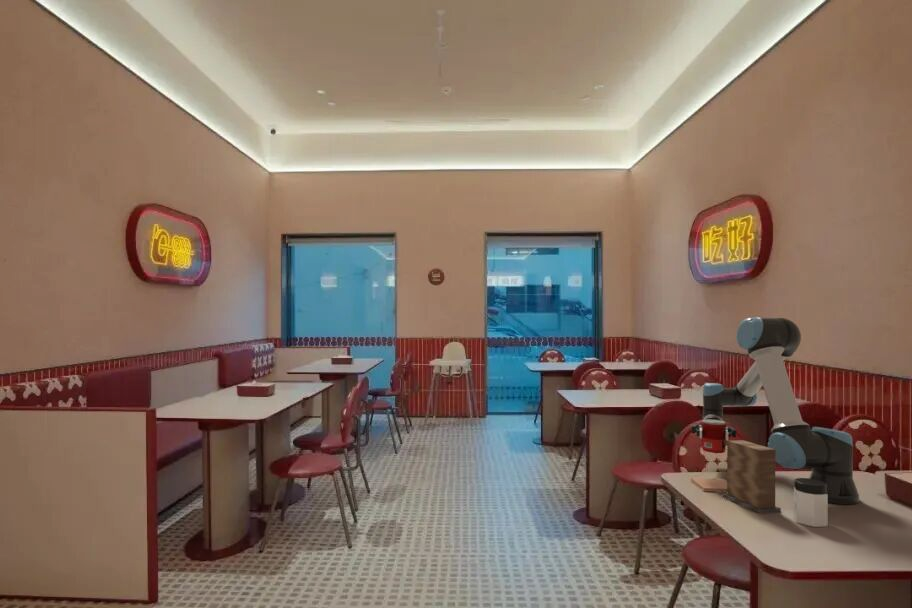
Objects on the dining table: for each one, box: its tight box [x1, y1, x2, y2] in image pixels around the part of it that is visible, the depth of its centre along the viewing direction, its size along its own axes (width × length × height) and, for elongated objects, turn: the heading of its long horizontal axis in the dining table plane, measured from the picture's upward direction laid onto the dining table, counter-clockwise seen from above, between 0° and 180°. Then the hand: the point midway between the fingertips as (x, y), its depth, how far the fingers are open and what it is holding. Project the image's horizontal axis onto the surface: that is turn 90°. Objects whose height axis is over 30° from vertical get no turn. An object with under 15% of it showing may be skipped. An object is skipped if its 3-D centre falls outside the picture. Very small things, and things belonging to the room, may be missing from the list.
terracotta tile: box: [690, 477, 727, 493], centre depth 200 cm, size 12×12×1 cm
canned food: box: [701, 419, 727, 454], centre depth 207 cm, size 8×8×11 cm
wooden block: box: [722, 439, 781, 514], centre depth 182 cm, size 16×8×19 cm, turn 15°
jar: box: [793, 477, 829, 528], centre depth 166 cm, size 9×8×12 cm
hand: (713, 435), depth 203 cm, fingers closed on canned food, 8 cm apart
